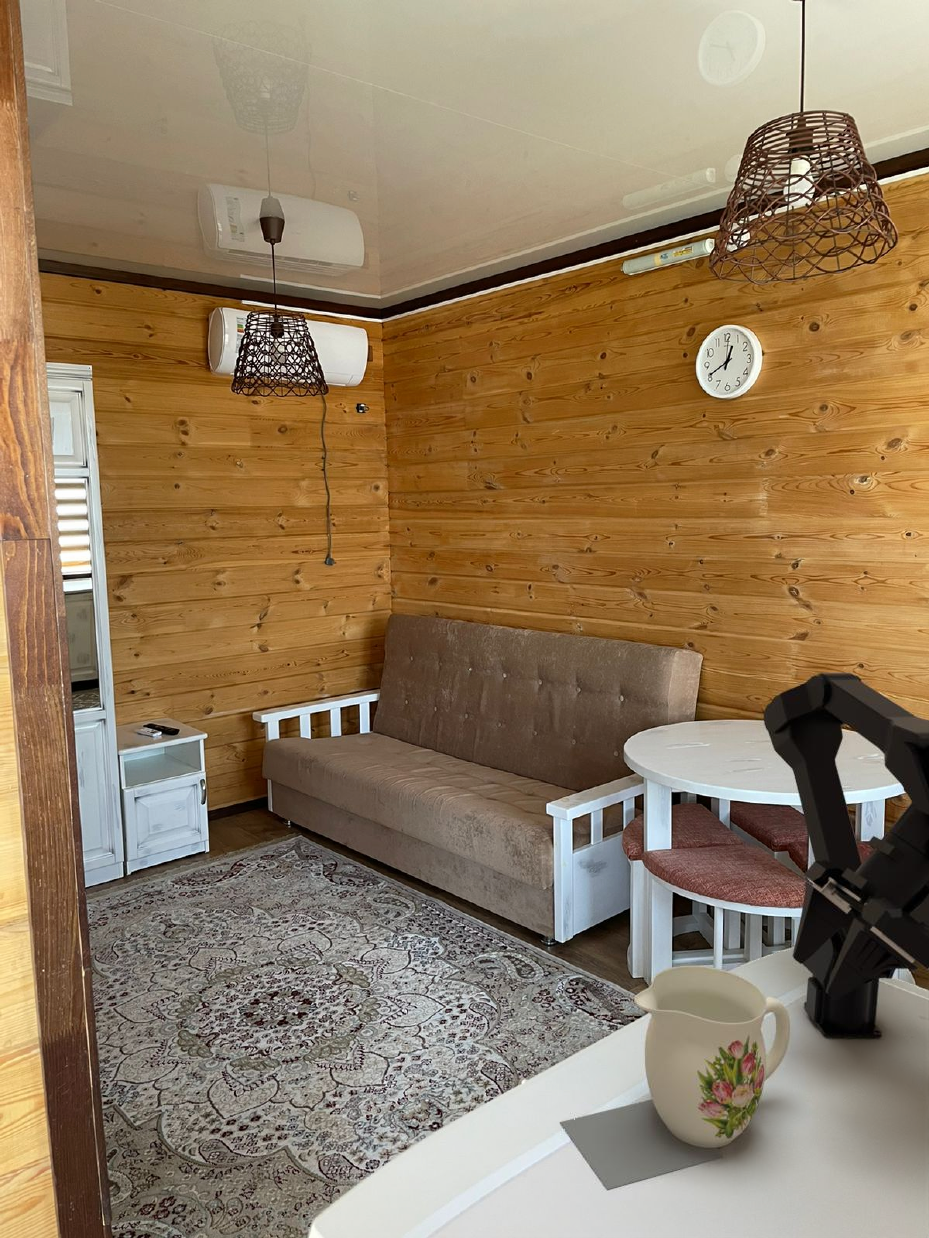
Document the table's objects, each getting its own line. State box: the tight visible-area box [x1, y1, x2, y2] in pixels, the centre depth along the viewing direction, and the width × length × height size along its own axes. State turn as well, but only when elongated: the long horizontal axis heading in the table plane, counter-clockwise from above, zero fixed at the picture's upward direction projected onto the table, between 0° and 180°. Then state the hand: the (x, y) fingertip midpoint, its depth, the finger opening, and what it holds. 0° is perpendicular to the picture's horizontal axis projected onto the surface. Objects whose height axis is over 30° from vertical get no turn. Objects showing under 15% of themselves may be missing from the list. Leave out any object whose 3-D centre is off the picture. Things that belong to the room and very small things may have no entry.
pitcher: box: [633, 965, 791, 1149], centre depth 86 cm, size 11×18×14 cm, turn 114°
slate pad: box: [559, 1098, 725, 1191], centre depth 85 cm, size 12×9×1 cm
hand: (812, 977), depth 89 cm, fingers open, 9 cm apart
